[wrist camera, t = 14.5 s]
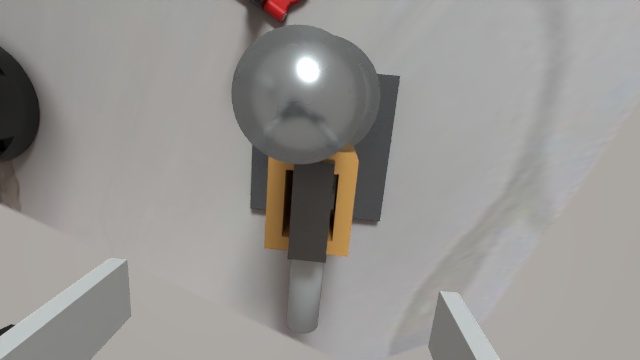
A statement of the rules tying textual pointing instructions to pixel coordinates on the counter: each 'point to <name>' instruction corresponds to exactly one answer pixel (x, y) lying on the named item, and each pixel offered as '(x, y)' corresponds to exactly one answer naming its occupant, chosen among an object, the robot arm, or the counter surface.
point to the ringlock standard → (315, 109)
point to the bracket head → (310, 273)
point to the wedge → (311, 210)
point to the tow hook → (275, 7)
